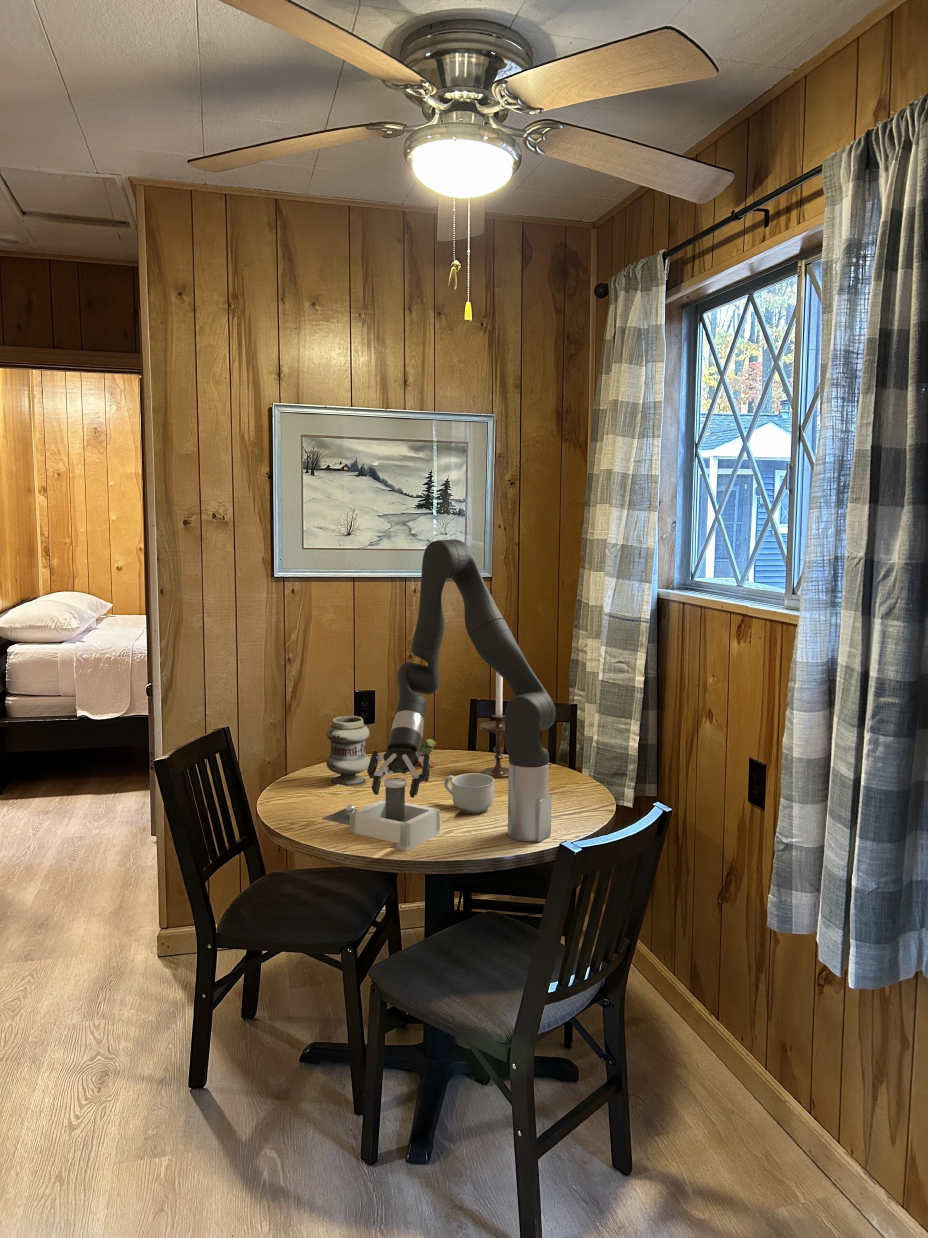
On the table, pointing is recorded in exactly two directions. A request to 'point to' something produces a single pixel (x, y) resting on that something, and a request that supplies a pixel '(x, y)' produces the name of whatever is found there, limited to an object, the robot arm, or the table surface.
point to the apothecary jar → (348, 750)
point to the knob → (395, 799)
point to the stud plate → (341, 815)
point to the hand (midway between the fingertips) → (393, 794)
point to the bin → (397, 824)
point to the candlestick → (497, 733)
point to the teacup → (471, 791)
